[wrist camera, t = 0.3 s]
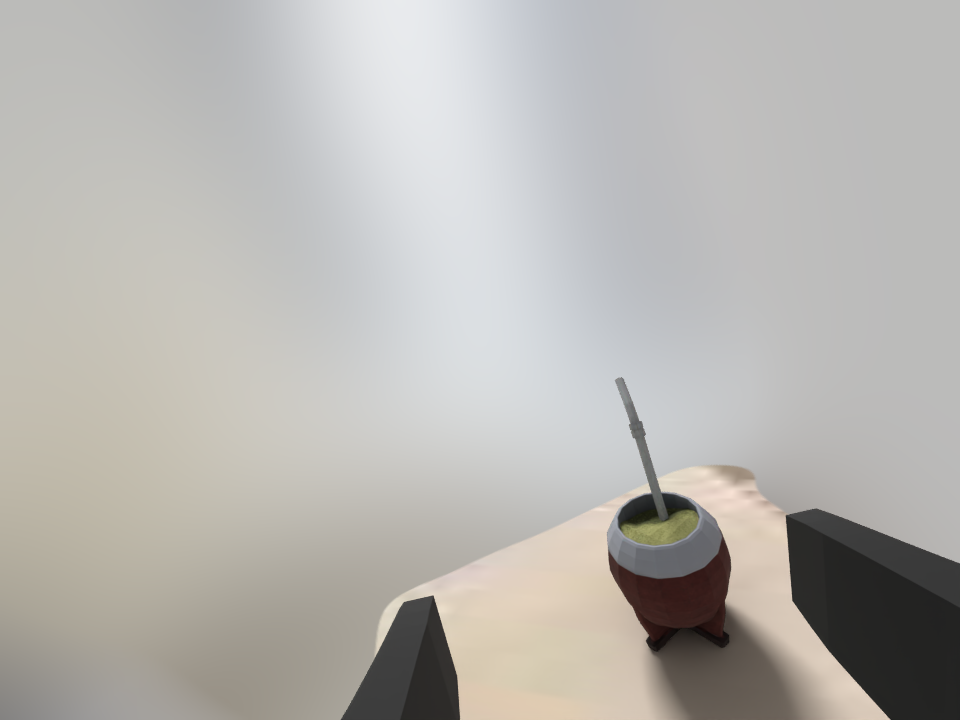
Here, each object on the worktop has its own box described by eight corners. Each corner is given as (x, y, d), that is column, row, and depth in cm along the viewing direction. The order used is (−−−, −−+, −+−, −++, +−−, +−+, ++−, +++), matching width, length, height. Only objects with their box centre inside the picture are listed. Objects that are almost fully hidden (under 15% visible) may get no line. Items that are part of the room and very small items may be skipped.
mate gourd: (698, 691, 28) (641, 465, 23) (596, 615, 34) (536, 429, 30) (769, 605, 31) (731, 394, 26) (663, 552, 38) (619, 375, 33)
